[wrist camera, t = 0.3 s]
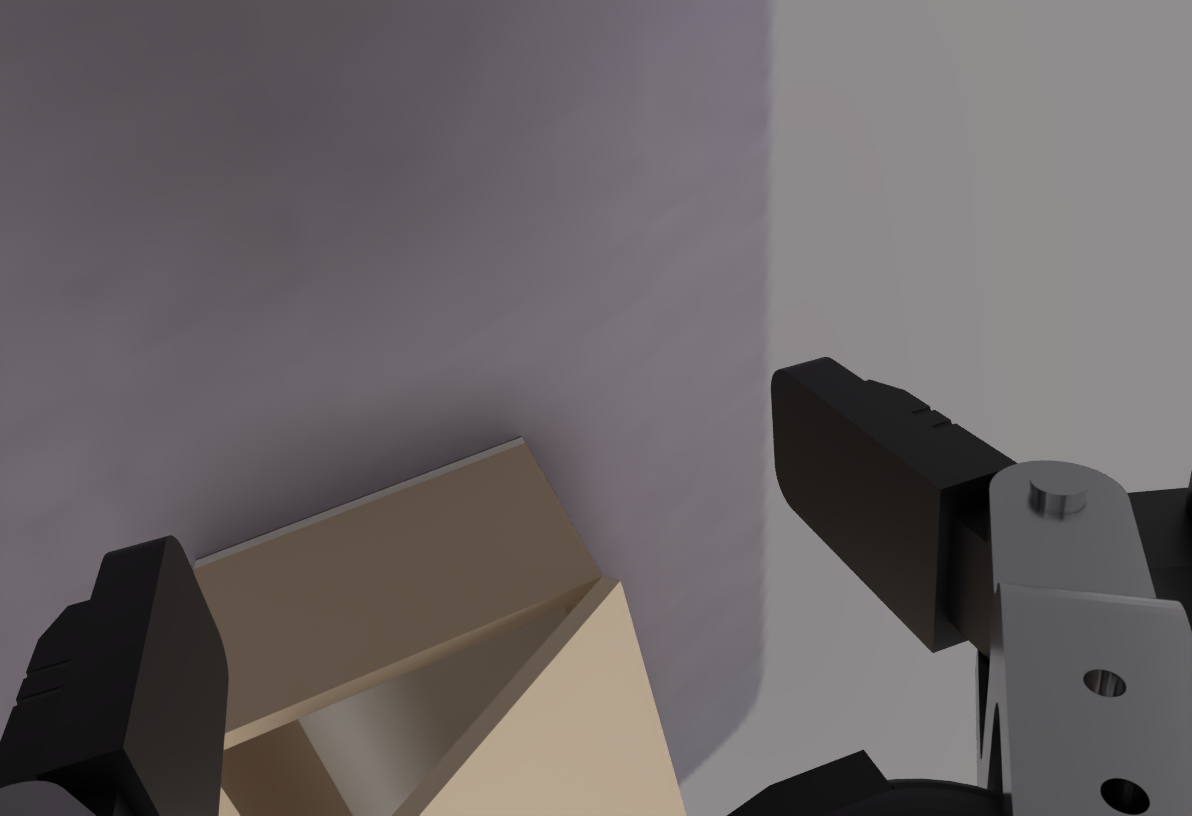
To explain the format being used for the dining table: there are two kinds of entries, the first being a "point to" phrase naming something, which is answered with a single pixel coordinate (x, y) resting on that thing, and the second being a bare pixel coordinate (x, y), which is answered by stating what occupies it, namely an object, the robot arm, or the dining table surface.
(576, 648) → the lid
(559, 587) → the mailer box
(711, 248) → the dining table surface
